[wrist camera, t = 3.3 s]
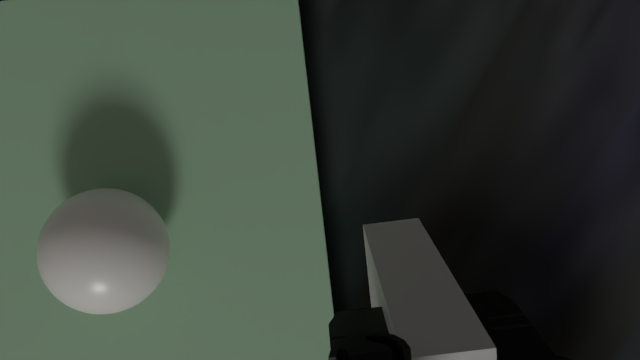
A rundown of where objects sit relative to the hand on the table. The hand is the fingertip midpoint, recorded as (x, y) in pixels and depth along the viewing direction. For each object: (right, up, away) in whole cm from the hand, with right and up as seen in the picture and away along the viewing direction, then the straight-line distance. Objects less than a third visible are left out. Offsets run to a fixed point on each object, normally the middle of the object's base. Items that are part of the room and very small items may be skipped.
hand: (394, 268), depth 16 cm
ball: (-9, 0, +3) cm, 9 cm away
